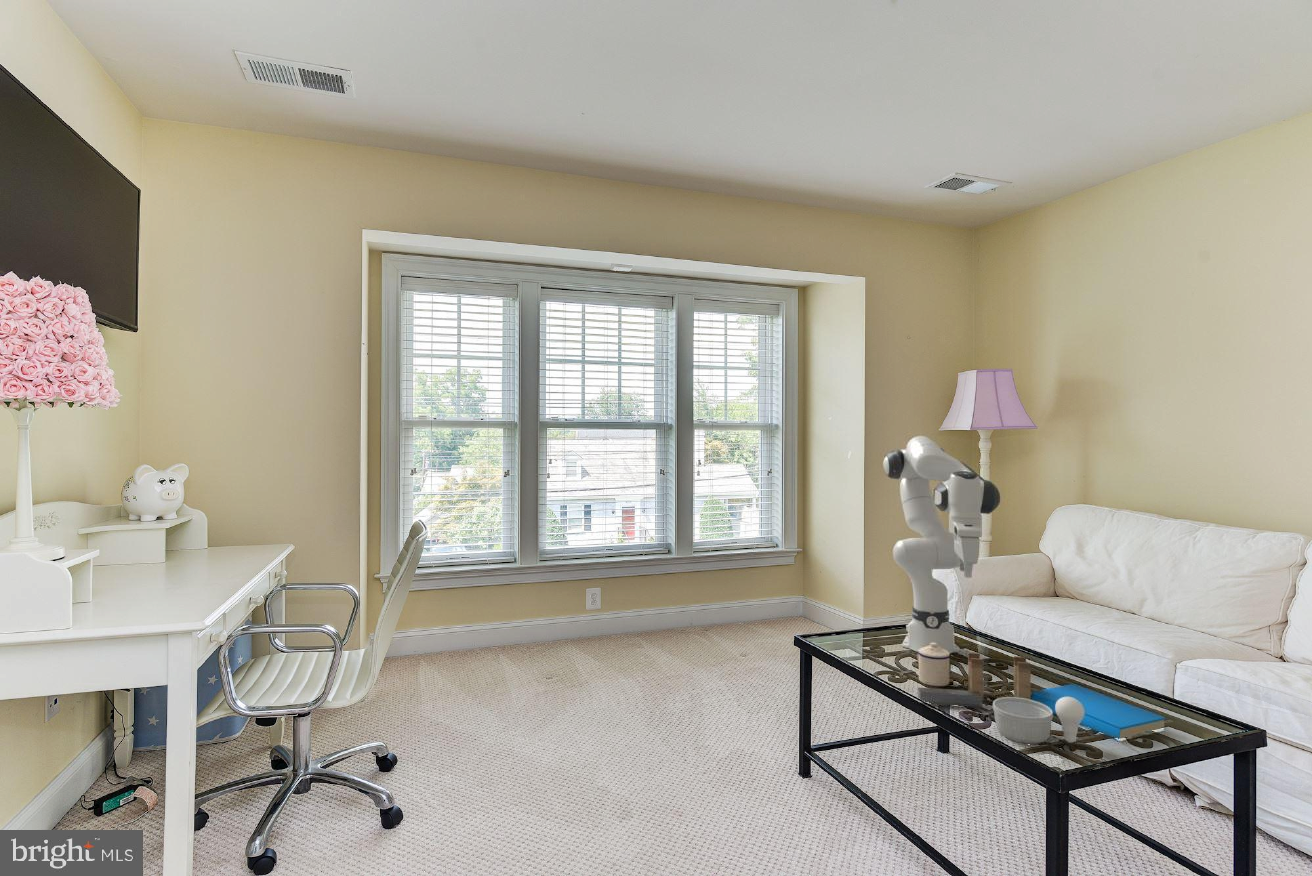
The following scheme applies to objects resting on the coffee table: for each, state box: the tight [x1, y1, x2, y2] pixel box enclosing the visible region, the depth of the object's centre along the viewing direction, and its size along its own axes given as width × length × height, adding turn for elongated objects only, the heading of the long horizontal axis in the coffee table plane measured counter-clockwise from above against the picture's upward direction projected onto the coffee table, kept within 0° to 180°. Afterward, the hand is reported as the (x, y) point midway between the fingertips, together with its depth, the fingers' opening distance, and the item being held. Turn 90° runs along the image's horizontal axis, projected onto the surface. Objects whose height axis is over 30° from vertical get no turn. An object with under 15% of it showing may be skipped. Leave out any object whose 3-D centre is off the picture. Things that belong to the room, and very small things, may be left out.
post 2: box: [1013, 655, 1032, 700], centre depth 190 cm, size 6×3×11 cm, turn 163°
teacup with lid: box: [917, 643, 951, 687], centre depth 206 cm, size 12×9×12 cm
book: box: [1031, 683, 1166, 739], centre depth 178 cm, size 17×4×25 cm
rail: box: [917, 686, 983, 709], centre depth 188 cm, size 4×16×4 cm, turn 79°
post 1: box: [967, 652, 984, 701], centre depth 193 cm, size 6×3×11 cm, turn 163°
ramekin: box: [992, 696, 1054, 745], centre depth 168 cm, size 13×13×7 cm
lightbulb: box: [1055, 697, 1085, 744], centre depth 163 cm, size 6×6×11 cm
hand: (965, 574), depth 198 cm, fingers open, 8 cm apart
